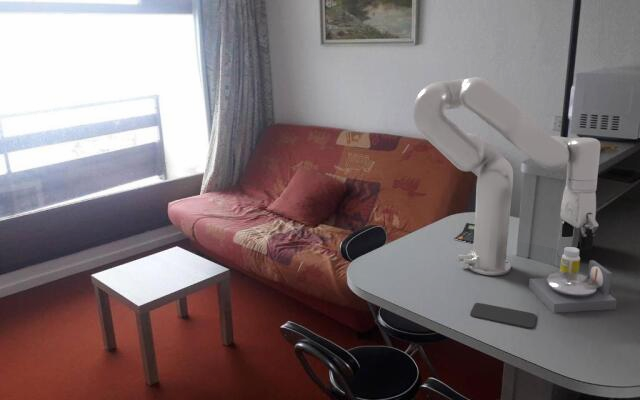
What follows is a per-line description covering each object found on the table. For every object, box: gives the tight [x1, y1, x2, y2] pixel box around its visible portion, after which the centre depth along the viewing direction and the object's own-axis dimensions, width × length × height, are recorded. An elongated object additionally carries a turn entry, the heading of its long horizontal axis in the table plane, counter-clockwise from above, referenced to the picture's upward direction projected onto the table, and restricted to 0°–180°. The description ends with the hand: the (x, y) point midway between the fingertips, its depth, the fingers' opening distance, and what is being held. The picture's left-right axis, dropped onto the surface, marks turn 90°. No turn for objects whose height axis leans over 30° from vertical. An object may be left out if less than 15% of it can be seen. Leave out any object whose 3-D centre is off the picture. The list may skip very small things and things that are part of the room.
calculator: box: [454, 222, 475, 244], centre depth 182 cm, size 9×12×3 cm
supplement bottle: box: [559, 246, 581, 274], centre depth 150 cm, size 5×5×8 cm
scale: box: [528, 259, 617, 314], centre depth 138 cm, size 16×14×8 cm
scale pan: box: [546, 271, 598, 296], centre depth 138 cm, size 12×12×1 cm
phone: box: [469, 302, 537, 330], centre depth 132 cm, size 7×1×15 cm
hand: (576, 242), depth 148 cm, fingers open, 9 cm apart
